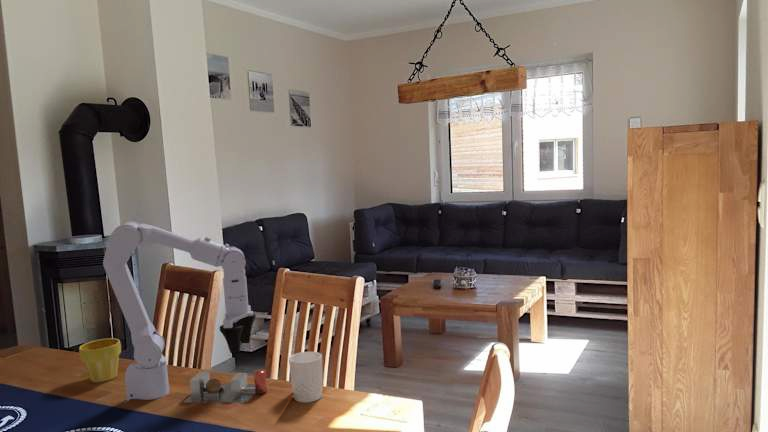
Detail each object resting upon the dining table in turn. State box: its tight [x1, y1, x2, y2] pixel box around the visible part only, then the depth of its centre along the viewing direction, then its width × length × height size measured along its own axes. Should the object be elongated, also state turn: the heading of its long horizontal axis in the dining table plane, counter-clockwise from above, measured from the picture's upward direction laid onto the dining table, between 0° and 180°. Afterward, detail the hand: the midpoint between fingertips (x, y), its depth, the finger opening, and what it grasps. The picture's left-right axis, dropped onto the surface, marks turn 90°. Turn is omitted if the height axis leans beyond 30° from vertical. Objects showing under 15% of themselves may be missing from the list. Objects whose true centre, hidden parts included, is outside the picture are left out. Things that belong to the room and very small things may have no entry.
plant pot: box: [78, 337, 122, 383], centre depth 166 cm, size 10×10×10 cm
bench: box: [182, 370, 257, 404], centre depth 147 cm, size 16×11×6 cm
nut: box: [206, 377, 222, 393], centre depth 148 cm, size 4×4×4 cm
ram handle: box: [230, 368, 268, 395], centre depth 146 cm, size 8×5×5 cm, turn 83°
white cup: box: [288, 351, 323, 404], centre depth 145 cm, size 8×8×10 cm
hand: (240, 347), depth 154 cm, fingers open, 7 cm apart
